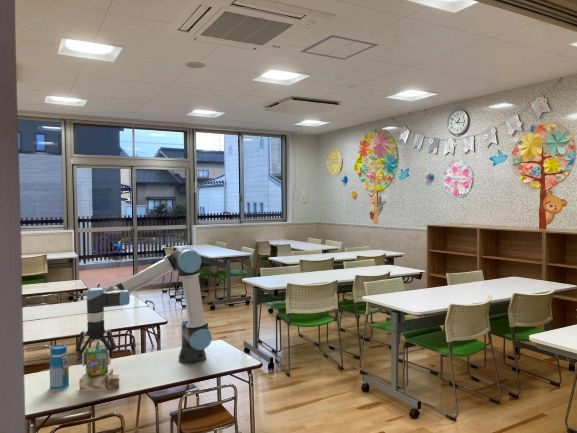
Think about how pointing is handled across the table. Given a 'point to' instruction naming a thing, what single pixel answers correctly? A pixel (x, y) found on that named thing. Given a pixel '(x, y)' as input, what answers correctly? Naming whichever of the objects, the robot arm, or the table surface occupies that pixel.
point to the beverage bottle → (59, 368)
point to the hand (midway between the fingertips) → (96, 364)
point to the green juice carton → (96, 360)
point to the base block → (95, 381)
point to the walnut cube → (113, 382)
